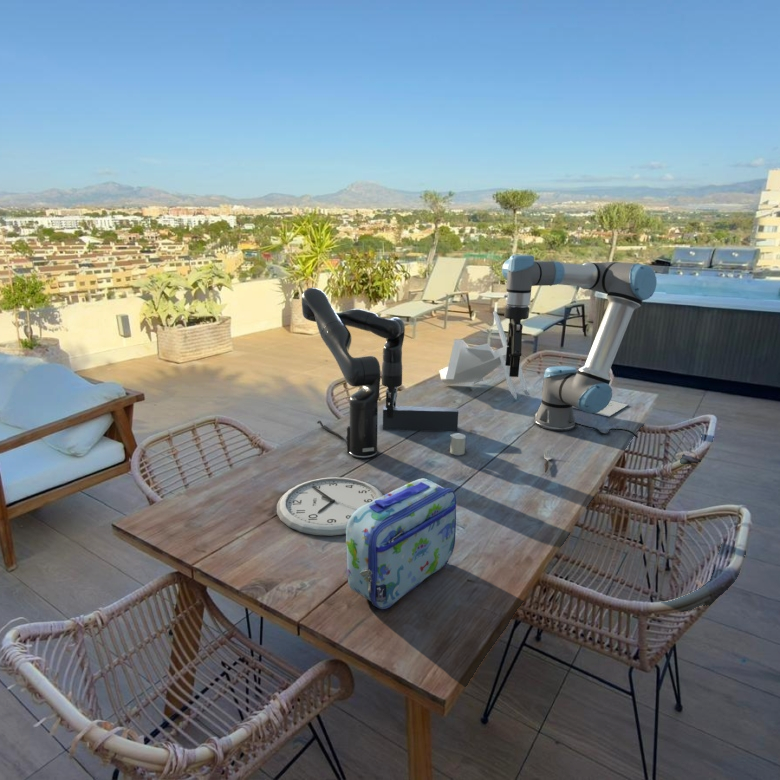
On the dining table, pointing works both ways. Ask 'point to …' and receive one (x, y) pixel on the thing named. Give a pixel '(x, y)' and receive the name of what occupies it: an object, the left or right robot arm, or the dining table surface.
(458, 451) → the off-white cylinder
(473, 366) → the white plastic object
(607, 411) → the invitation card
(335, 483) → the wall clock
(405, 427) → the bar
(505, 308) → the right robot arm
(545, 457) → the fork
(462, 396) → the dining table surface
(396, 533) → the lunch box
